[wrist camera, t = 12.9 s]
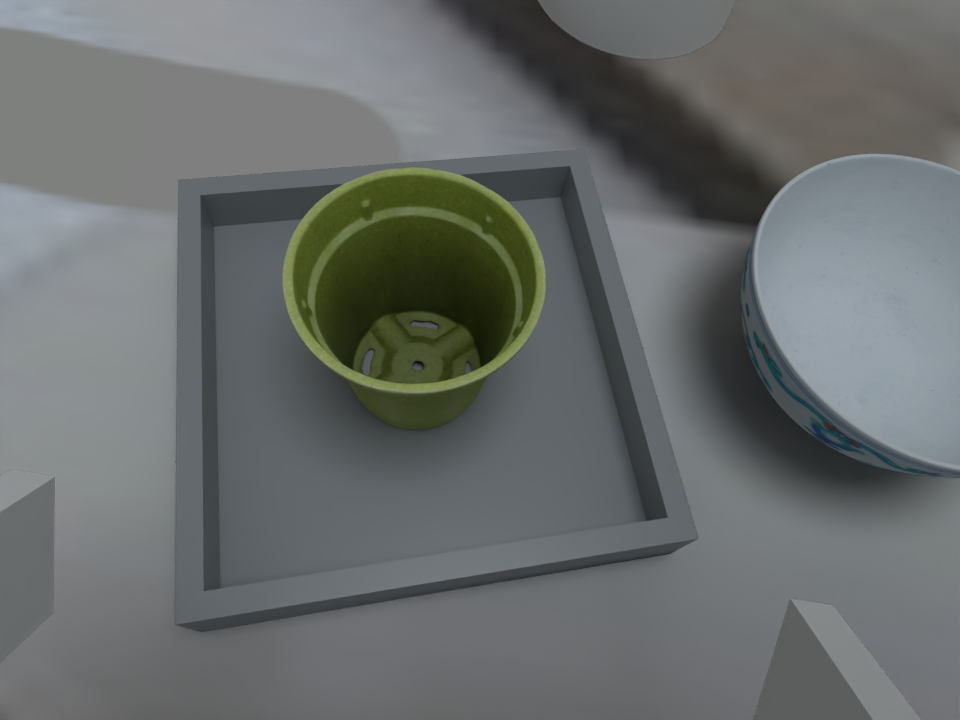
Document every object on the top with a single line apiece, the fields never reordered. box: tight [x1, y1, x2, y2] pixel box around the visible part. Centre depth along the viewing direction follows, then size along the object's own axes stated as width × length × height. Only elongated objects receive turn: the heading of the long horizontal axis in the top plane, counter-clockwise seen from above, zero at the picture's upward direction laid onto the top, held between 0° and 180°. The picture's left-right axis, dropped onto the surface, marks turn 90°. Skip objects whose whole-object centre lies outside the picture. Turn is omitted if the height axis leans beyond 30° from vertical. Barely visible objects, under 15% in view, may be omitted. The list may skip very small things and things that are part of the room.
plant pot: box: [282, 167, 546, 430], centre depth 29 cm, size 9×9×9 cm
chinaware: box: [741, 154, 960, 478], centre depth 32 cm, size 15×15×8 cm
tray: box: [175, 149, 698, 632], centre depth 32 cm, size 20×20×4 cm
